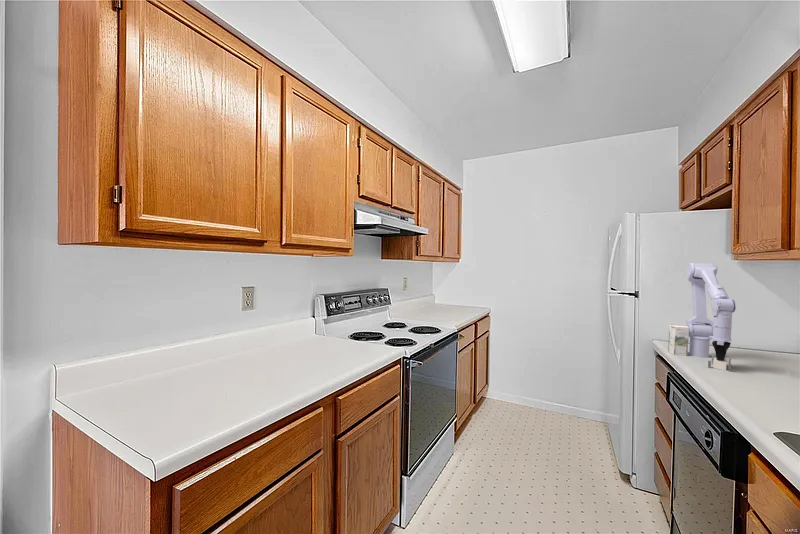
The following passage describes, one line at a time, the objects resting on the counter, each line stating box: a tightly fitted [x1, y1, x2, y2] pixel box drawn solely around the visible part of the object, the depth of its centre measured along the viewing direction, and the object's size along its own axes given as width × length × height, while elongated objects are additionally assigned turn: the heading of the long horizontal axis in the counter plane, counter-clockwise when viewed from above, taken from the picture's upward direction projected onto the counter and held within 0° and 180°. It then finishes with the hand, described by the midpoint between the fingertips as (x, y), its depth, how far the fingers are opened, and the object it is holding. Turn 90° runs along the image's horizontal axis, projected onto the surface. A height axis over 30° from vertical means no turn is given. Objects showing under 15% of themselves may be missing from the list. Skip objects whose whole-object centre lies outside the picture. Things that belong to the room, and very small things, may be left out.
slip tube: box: [712, 356, 729, 371], centre depth 154 cm, size 8×4×6 cm, turn 136°
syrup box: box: [667, 323, 690, 357], centre depth 174 cm, size 6×6×14 cm
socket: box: [707, 360, 733, 372], centre depth 151 cm, size 2×7×3 cm, turn 46°
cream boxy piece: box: [711, 353, 732, 368], centre depth 157 cm, size 3×6×4 cm, turn 46°
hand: (720, 359), depth 154 cm, fingers closed on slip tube, 3 cm apart
